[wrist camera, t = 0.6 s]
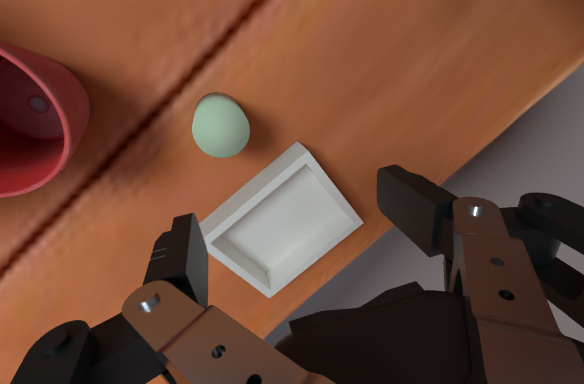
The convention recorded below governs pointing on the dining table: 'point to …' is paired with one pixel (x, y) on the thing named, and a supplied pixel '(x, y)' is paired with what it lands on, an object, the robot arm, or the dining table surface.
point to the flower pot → (37, 119)
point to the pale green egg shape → (220, 125)
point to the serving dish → (279, 222)
